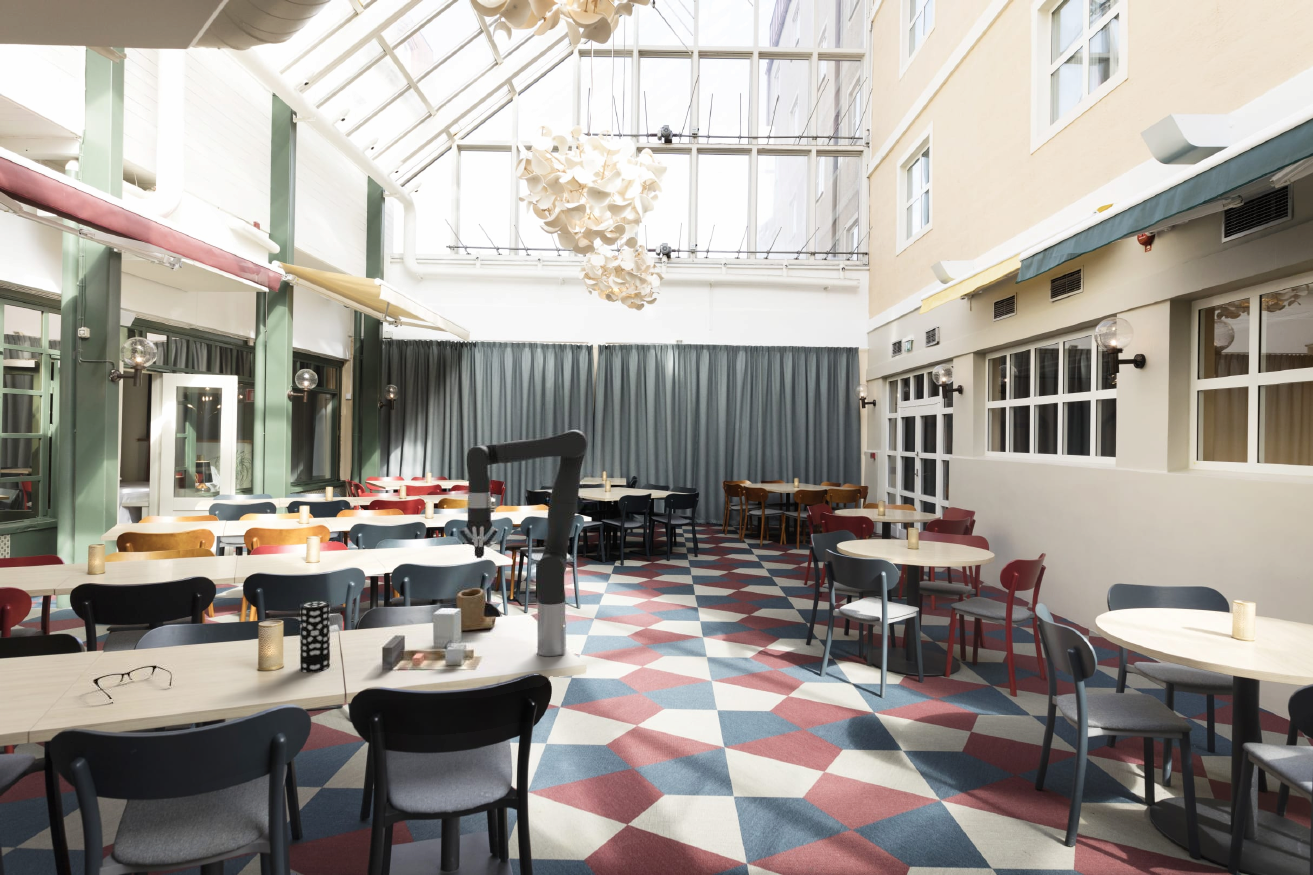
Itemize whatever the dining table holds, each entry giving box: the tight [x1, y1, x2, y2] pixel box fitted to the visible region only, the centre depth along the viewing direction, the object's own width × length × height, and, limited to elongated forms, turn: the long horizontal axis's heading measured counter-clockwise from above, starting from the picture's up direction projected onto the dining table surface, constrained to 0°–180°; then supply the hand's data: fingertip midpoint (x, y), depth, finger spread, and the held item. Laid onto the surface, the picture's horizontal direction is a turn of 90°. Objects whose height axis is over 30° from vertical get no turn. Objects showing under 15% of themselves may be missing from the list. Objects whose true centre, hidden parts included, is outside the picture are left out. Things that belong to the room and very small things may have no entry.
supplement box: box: [432, 607, 462, 648], centre depth 238 cm, size 7×7×13 cm
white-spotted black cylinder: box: [299, 600, 331, 674], centre depth 217 cm, size 8×8×20 cm
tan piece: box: [456, 587, 497, 632], centre depth 259 cm, size 15×12×15 cm
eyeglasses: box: [92, 664, 173, 700], centre depth 199 cm, size 16×16×4 cm
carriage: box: [443, 639, 467, 665], centre depth 218 cm, size 5×6×6 cm
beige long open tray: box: [381, 634, 484, 672], centre depth 218 cm, size 28×12×8 cm, turn 93°
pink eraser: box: [412, 654, 424, 666], centre depth 217 cm, size 2×4×2 cm, turn 3°
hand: (479, 557), depth 232 cm, fingers closed
